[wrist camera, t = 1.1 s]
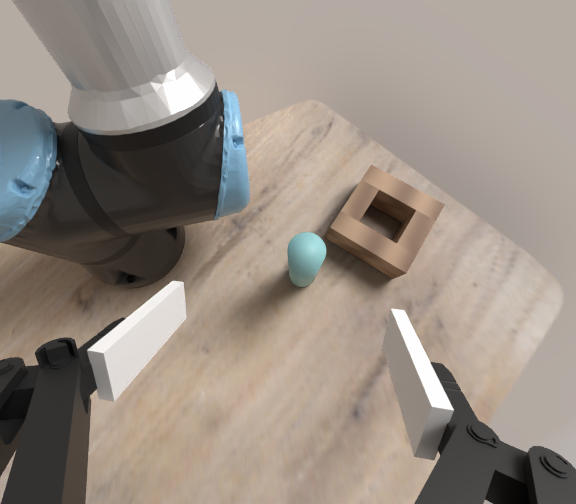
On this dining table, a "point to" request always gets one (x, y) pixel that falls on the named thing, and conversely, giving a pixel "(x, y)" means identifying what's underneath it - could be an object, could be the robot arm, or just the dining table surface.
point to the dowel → (305, 258)
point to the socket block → (398, 204)
